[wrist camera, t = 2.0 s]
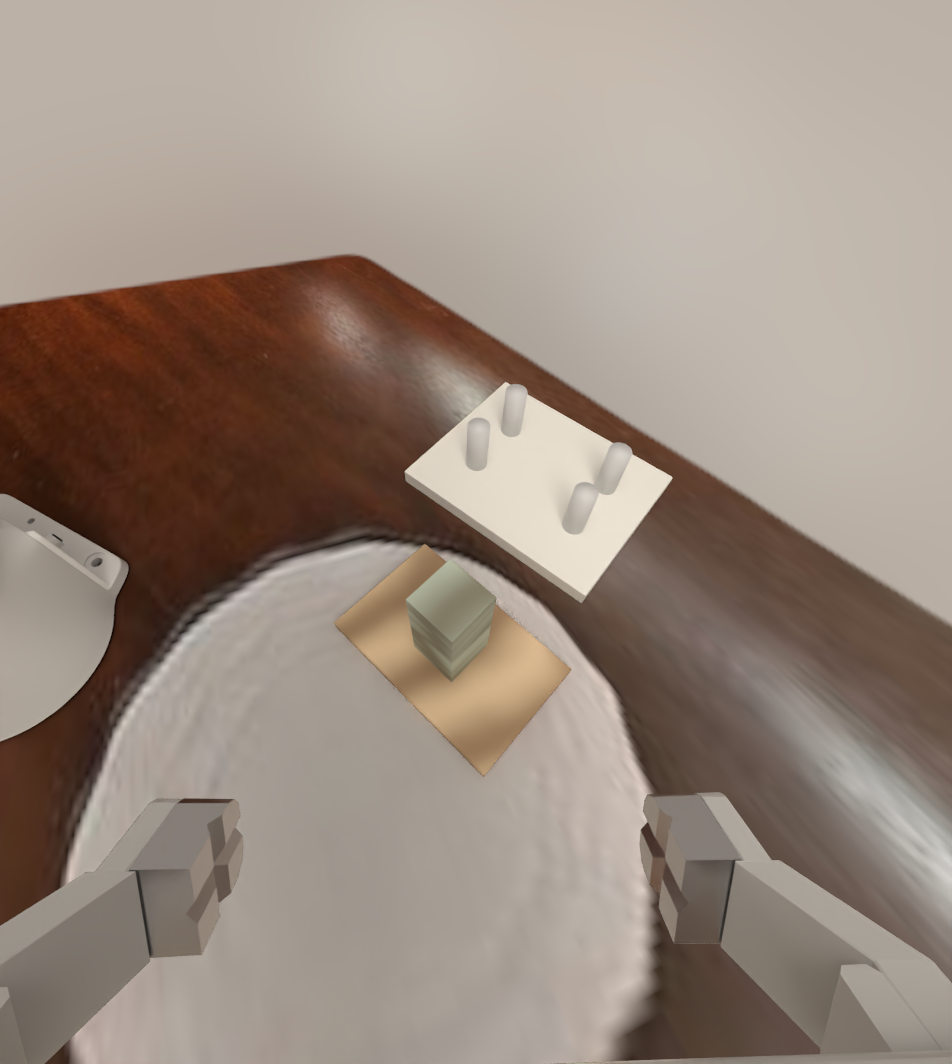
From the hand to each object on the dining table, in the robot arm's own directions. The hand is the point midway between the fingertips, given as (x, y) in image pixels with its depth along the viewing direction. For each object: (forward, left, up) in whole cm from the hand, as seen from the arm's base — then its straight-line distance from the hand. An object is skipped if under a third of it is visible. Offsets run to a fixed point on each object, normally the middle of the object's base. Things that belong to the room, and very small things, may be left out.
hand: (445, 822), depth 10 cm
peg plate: (-12, +28, -27) cm, 40 cm away
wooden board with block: (-8, +10, -27) cm, 30 cm away
